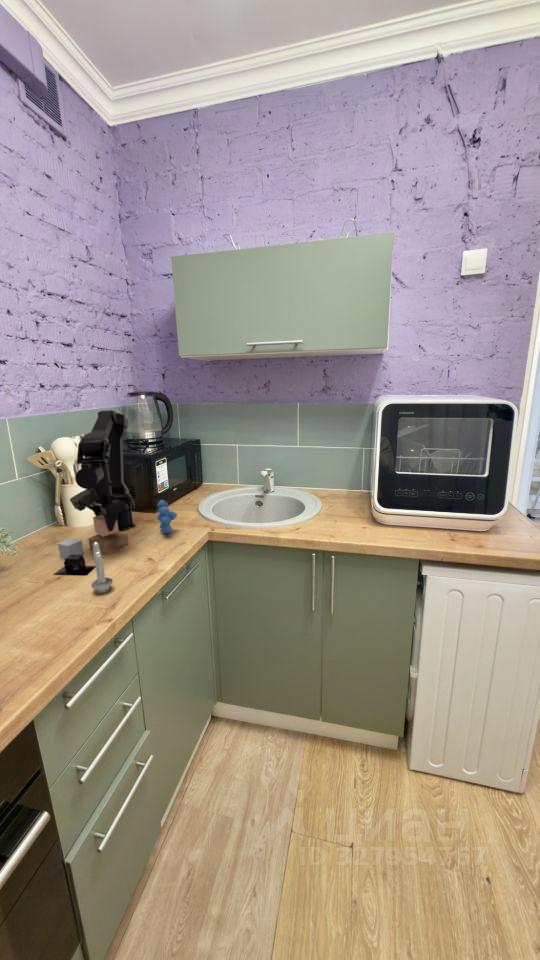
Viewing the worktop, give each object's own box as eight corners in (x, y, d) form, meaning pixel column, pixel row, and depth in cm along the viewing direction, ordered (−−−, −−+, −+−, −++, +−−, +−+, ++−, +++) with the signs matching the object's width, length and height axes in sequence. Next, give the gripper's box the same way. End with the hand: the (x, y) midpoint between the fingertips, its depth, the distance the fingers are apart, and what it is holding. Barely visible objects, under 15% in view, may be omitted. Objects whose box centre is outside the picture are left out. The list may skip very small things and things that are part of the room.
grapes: (181, 537, 128) (178, 502, 124) (160, 541, 125) (155, 505, 122) (176, 525, 138) (173, 492, 135) (156, 528, 136) (152, 495, 133)
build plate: (104, 567, 111) (102, 551, 110) (90, 580, 104) (87, 563, 103) (63, 565, 113) (60, 550, 112) (46, 578, 106) (43, 562, 105)
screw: (112, 594, 96) (90, 597, 95) (114, 584, 100) (94, 587, 99) (104, 544, 92) (82, 547, 91) (107, 536, 97) (86, 538, 96)
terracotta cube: (111, 527, 125) (108, 512, 123) (118, 531, 121) (116, 516, 120) (95, 532, 121) (92, 517, 120) (102, 536, 118) (100, 520, 116)
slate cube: (74, 551, 120) (71, 537, 119) (83, 554, 118) (81, 540, 117) (60, 557, 117) (57, 543, 116) (70, 560, 115) (67, 546, 113)
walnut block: (113, 540, 128) (111, 529, 127) (128, 546, 124) (127, 534, 122) (90, 550, 122) (88, 538, 121) (105, 556, 117) (103, 543, 116)
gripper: (58, 480, 118) (67, 529, 122) (84, 491, 105) (93, 545, 109) (95, 472, 125) (102, 519, 129) (124, 482, 113) (131, 533, 117)
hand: (106, 528), depth 121 cm, fingers closed on terracotta cube, 5 cm apart
